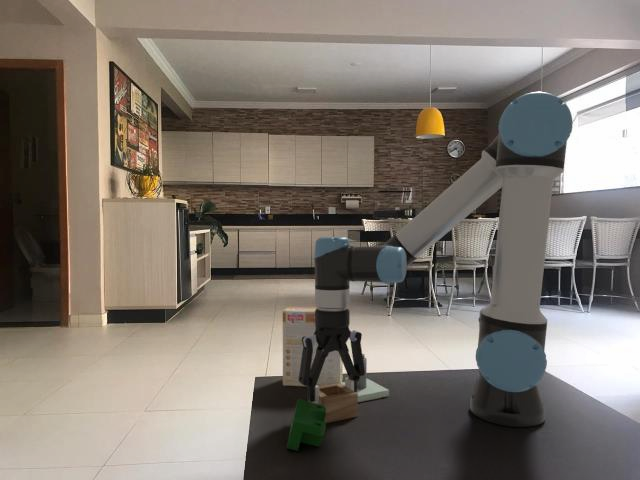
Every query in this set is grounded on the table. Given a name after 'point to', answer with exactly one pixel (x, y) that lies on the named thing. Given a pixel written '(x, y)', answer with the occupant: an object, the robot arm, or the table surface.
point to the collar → (338, 402)
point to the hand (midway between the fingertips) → (332, 411)
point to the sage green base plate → (369, 387)
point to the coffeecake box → (294, 328)
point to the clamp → (307, 424)
